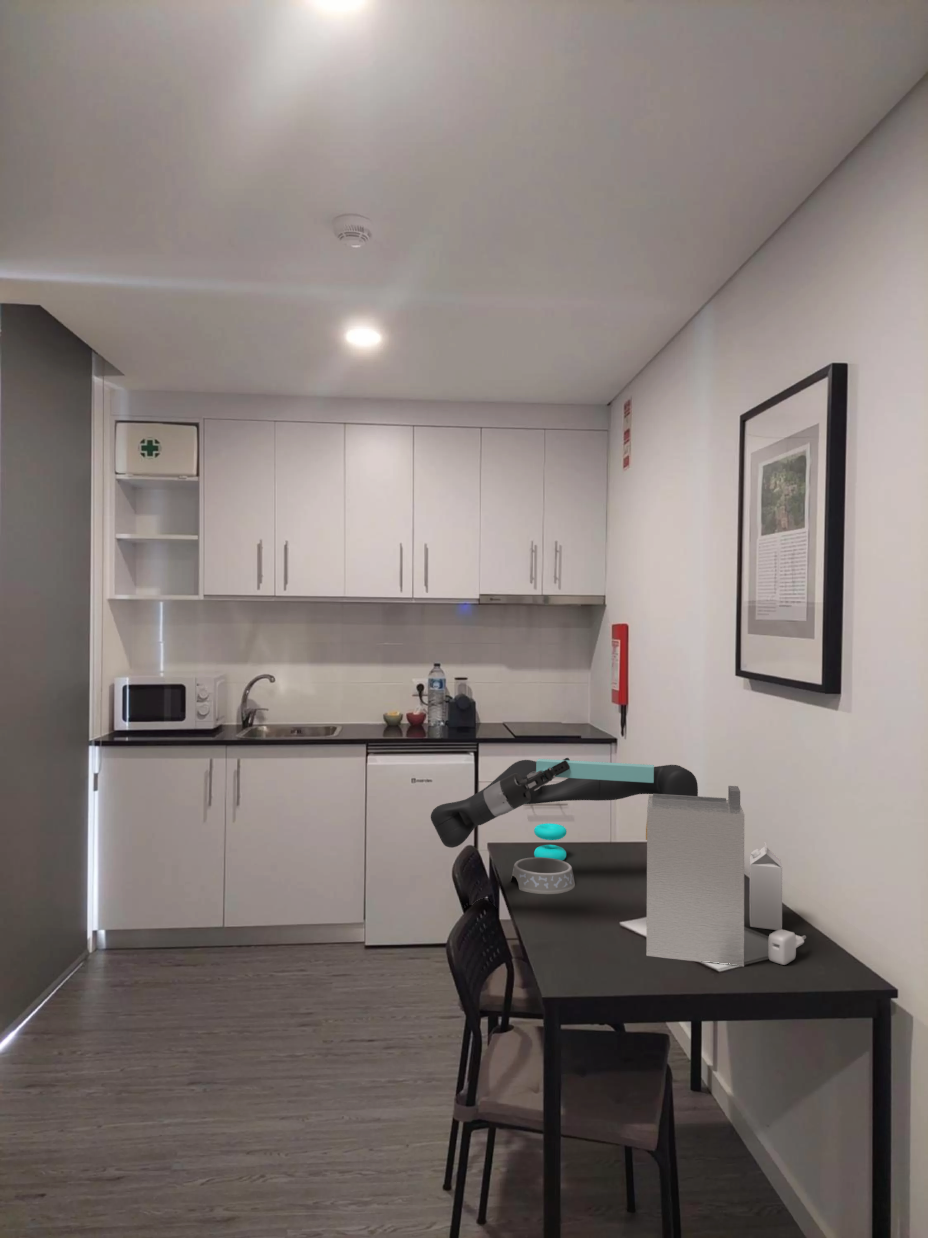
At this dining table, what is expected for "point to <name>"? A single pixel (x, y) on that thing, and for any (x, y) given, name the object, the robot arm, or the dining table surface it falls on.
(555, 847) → the donuts
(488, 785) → the robot arm
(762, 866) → the milk carton
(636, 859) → the dining table surface
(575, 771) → the teal tapered block
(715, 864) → the tall grey box
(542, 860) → the dog bowl
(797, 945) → the power adapter
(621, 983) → the dining table surface
